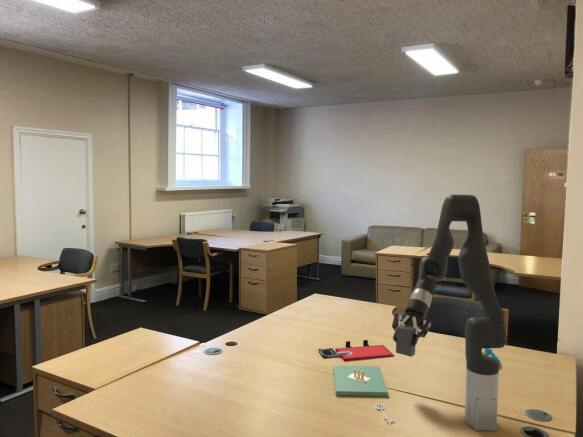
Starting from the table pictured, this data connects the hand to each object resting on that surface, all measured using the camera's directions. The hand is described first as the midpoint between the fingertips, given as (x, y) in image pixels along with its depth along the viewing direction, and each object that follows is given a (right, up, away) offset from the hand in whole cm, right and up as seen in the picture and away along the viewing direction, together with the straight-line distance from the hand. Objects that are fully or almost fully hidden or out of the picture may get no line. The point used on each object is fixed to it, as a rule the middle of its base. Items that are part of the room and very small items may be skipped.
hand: (403, 343), depth 161 cm
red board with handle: (-12, -15, +36) cm, 41 cm away
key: (-10, -19, -15) cm, 26 cm away
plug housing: (+1, -4, +2) cm, 5 cm away
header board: (-15, -17, +8) cm, 24 cm away
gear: (+43, -15, +28) cm, 53 cm away
